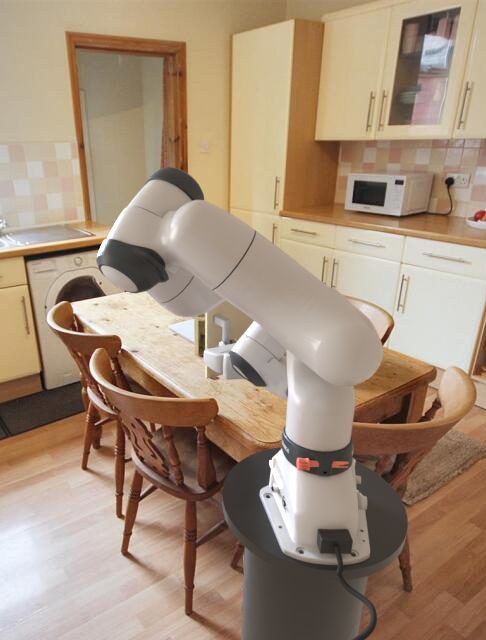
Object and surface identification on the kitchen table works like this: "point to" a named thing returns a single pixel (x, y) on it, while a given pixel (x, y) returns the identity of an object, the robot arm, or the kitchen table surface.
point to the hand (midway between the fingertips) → (226, 343)
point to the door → (223, 328)
